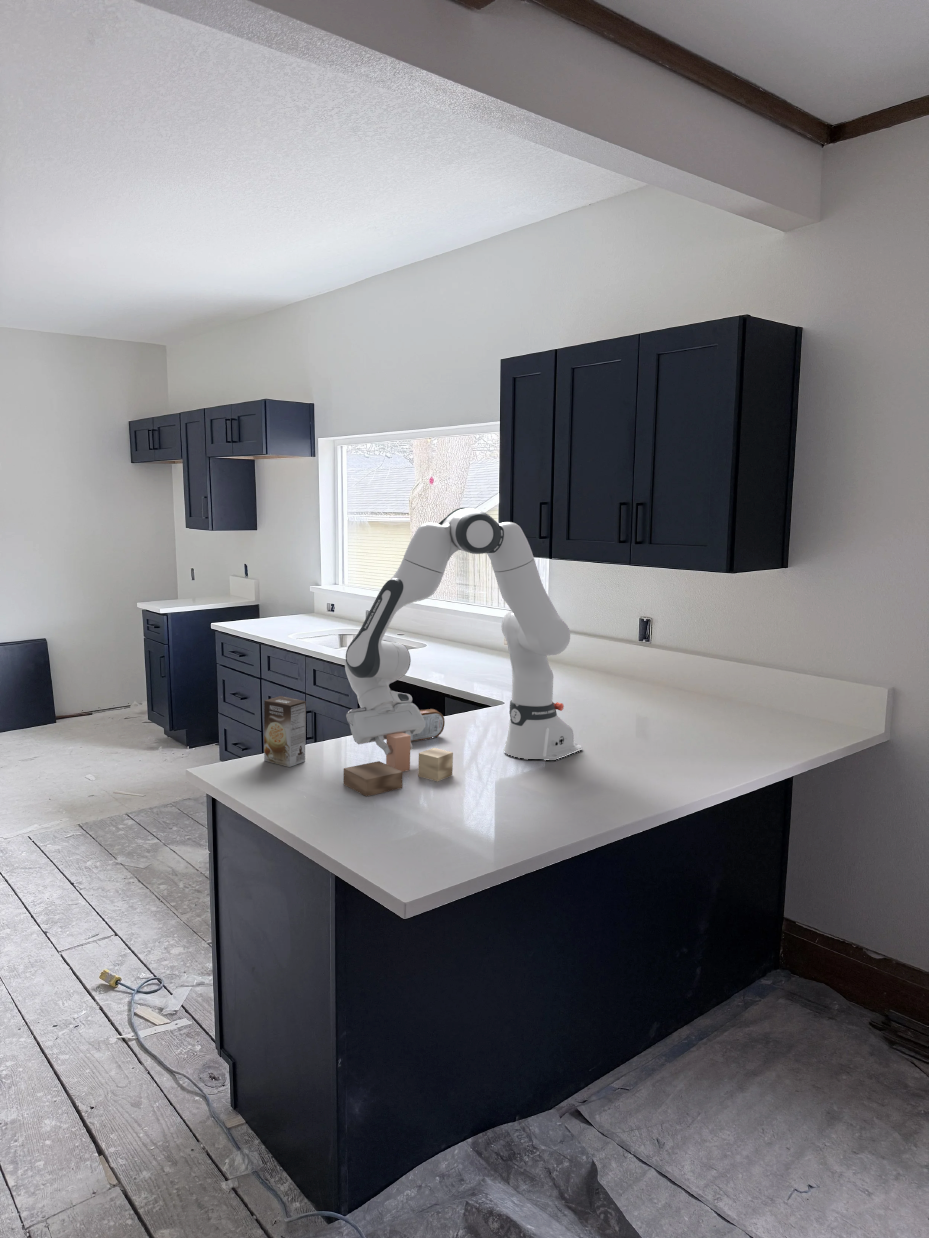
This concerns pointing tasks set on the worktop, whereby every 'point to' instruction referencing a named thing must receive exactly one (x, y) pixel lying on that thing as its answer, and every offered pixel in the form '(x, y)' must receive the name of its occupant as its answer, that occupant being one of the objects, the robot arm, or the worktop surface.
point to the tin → (430, 725)
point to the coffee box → (284, 731)
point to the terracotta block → (399, 751)
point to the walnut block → (373, 778)
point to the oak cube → (435, 764)
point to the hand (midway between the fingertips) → (399, 751)
